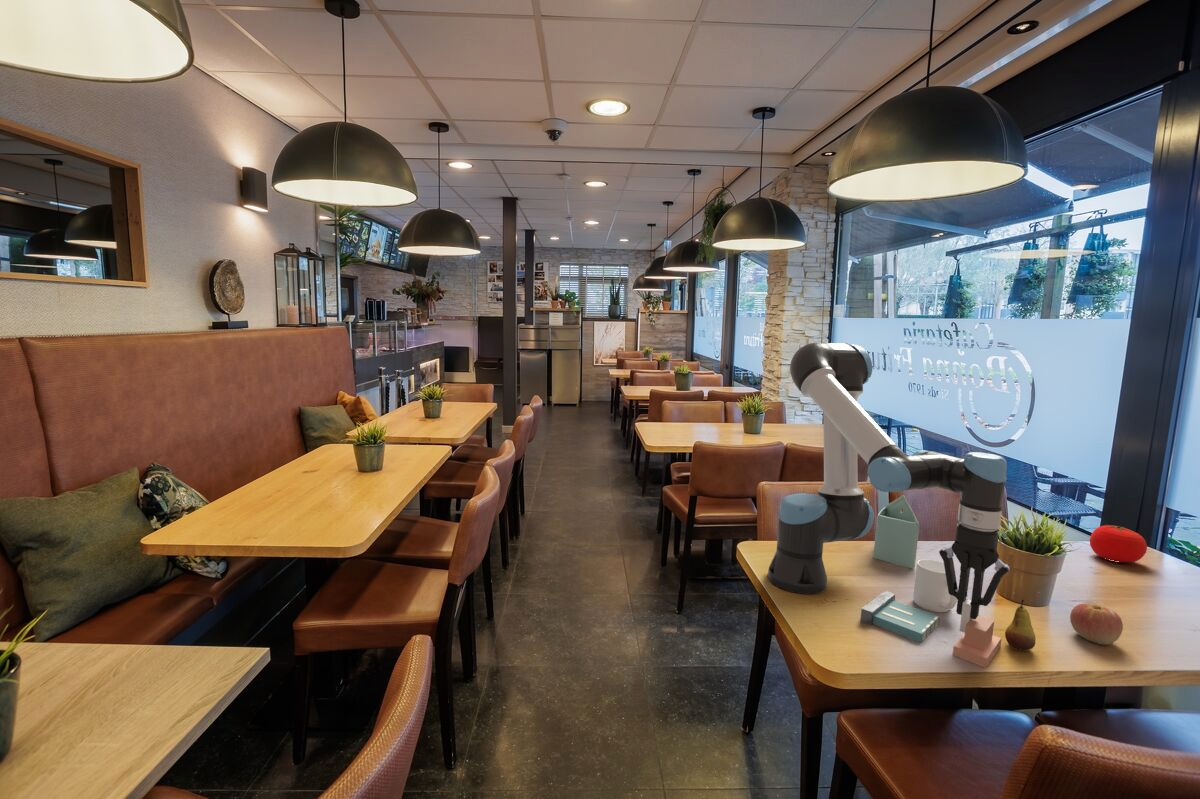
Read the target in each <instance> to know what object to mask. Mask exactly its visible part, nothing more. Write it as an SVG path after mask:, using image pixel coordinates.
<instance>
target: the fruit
mask: <svg viewBox="0 0 1200 799" xmlns="http://www.w3.org/2000/svg"><path fill="white" fill-rule="evenodd" d="M1020 602H1021V604H1020V605H1019V606H1017V608H1016V610H1015V613H1014V616H1013V619H1012V621H1011V623H1010V624H1009V625H1008V626H1007V627H1006V629H1005V631H1004V637H1005V639H1006V642H1007V643H1008V645H1009V646H1010V647H1011V648H1013V650H1017V651H1018V650H1019V651H1030V650H1032V649H1033V648H1034V647H1035V645H1036V633H1035V631H1034V627H1033V624H1032V621H1031V616H1030V613H1029V612H1028V609H1027V608H1026V607H1025V606H1023V604H1024V602H1025V600H1024V599H1021V601H1020Z"/></svg>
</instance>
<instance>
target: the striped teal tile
mask: <svg viewBox="0 0 1200 799" xmlns="http://www.w3.org/2000/svg"><path fill="white" fill-rule="evenodd" d="M939 623H940V616H939V615H937V614H933V613H931V612H928V611H926V610H923V609H920V608H917V607H913V606H910V605H908V604H905V603H902V602H900V601H897V600H895V601H894V600H893V601H891V602H890V603H889V604H888V605H886V606H885V607H884V608H883V609H881V610H880V611H879V612H878V613H876V614H875V615H874V616H873V624H872V625H875V626H878V627H880V628H883V629H885V630H888V631H891V632H893V633H895V634H898V635H900V636H904V637H906V638H909V639H912V640H914V641H916V642H919V643H922V642H923V641H924V640H925V639H926V638H928V636H929V635H930V634H931V633H932V632H933V631H934V630H935V629H936V628H937V627H938V626H939Z"/></svg>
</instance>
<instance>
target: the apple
mask: <svg viewBox="0 0 1200 799" xmlns="http://www.w3.org/2000/svg"><path fill="white" fill-rule="evenodd" d="M1069 617H1070V618H1069V620H1070V624H1071V626H1072V628H1073V630H1074V631H1075V632H1076V633H1077V634H1078V635H1079V636H1080V637H1082V638H1083V639H1085V640H1087V641H1089V642H1093V643H1095V644H1098V645H1106V646H1107V645H1110V644H1112V643H1115V642H1116V641H1117V640H1119V638H1120V637H1121V635H1122V633H1123V630H1124V624H1123V619H1122V617H1121V616H1120V615H1119V614H1118V613H1117V612H1116V611H1114V610H1113V609H1111V608H1109V607H1106V606H1103V605H1101V604H1097V603H1096V604H1095V603H1079V604H1077V605H1075V606H1073V608H1072V609H1071V612H1070V616H1069Z"/></svg>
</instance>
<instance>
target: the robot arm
mask: <svg viewBox="0 0 1200 799" xmlns="http://www.w3.org/2000/svg"><path fill="white" fill-rule="evenodd" d="M789 365H790V366H789V369H790V370H789V371H790V375H791V378H792V381H793V383H794V385H795V386H796V388H797V389H798V390H799V392H801V394H802V395H803V396H804V397H807V398H811V399H812V401H813V402H814V403H815V404H816V405H817V407H818V408H819V409H820V410H821V411H822V413H823V418H822V419H823V422H822V423H823V485H822V486H820V487H819V488H818V490H817V493H818V494H815V493H807V492H806V493H803V492H801V493H800V492H799V493H793V494H789V495H787V496H785V497H784V498H783V499H781V501H780V505H779V511H778V523H777V524H778V527H777V539H776V550H775V552H774V554H773V558H772V560H771V562H770V564H769V566H768V570H767V579H768V581H769V582H770V583H771V584H773V585H774V586H776V587H777V588H779V589H781V590H784V591H787V592H791V593H795V594H801V595H802V594H804V595H813V594H820V593H822V592H825V591H826V589H827V587H828V576H827V572H826V568H825V564H824V560H823V552H824V551H823V550H824V544H826V543H833V542H834V543H835V542H841V541H852V540H856V539H859V538H863V537H864V536H866V535H867V534H868V533H869V532H870V530H871V529H872V527H873V524H874V521H875V514H874V510H873V507H872V506H871V505H870V501H869V500H868V499H867V498H866V497H865V491H864V490H862V489H861V487H859V484H858V480H859V478H858V476H859V475H858V472H859V471H858V470H859V469H858V455H859V456H860V457H861V458H862V459H863V461H864V462H865V463H866V464H867V465H868V467H867V477H868V478H869V482H870V484H871V485H872V487H874V488H875V489H876V490H878V491H880V492H884V493H900V492H905V491H914V490H924V489H925V490H927V489H933V488H934V489H936V488H937V489H938V488H941V489H944V490H948V491H951V492H954V493H957V494H959V505H958V513H957V521H958V523H957V524H956V529H955V538H954V542H953V543H952V545H951V546H950V547H943V548H942V549H940V550H939V552H938V553H939V555H940V557H941V559H942V561H943V563H944V567H945V574H946V580H947V586H948V593H949V594H950V595H953V596H955V597H956V598H957V602H956V614H957V615H960V625H959V632H961V633H963V634H964V633H965V628H966V624H967V623H968V622H969V621H970V619H971V618H972V619H976V618H977V617H978V615H979V613H980V606H983V607H987V606H988V605H989V604H990V603H991V602H992V599H993V598H994V595H995V593H996V591H997V589H998V587H999V584H1000V583H1001V581H1002V579H1003V576H1004V575H1006V574H1007V573H1008V572H1009V571H1010V569H1011V565H1010V564H1008V563H1004V562H1003V561H1002V560H1001V559H1000V556H999V555H1000V554H999V553H998V543H999V534H1000V532H999V531H998V530H999V529H1000V528H1001V520H1002V514H1003V510H1002V509H1003V499H1004V493H1005V488H1006V487H1005V486H1006V482H1007V480H1008V477H1007V471H1008V470H1007V468H1008V467H1007V465H1008V464H1007V462H1008V461H1007V460H1006V459H1005V458H1004V457H1003V456H1001V455H998V454H993V453H986V452H979V451H976V452H975V451H974V452H973V451H972V452H971V451H970V452H966V454H965V456H964V458H961V457H957V456H952V455H948V454H943V453H941V452H938V451H934V450H933V451H931V450H925V449H921V450H917V451H915V453H913V454H912V455H907V454H906V453H905V452H904V451H903V450H902V448H900V447H899V446H898V445H897V444H896V443H895V442H894V440H893V439H892V438H891V437H890V436H889V435H888V434H887V433H886V432H885V431H884V429H882V427H881V426H880V425H879V424H878V423H877V422H876V421H875V420H874V419H873V418H872V416H871V415H869V413H868V412H867V411H866V410H865V409H864V408H863V406H861V405H860V404H859V402H858V398H859V397H860V396H861V395H862V393H864V385H865V384H866V383H867V382H868V381H869V378H871V377H872V374H873V361H872V358H871V355H870V354H869V352H867V350H865V349H864V348H863V347H862V346H860V345H857V344H854V343H853V344H852V343H847V342H846V343H845V342H843V343H841V342H840V343H838V342H837V343H833V342H832V343H831V342H810V343H806V344H805V345H803V346H801V347H800V348H798V350H796V352H795V353H794V354H793V356H792V358H791V361H790V364H789ZM954 555H955V557H956V559H957V560H958V562H959V563H960V569H959V570H960V573H959V580H958V581H959V582H958V583H959V584H958V583H957V576H956V569H955V563H954V562H955V561H954V558H953V557H954ZM994 564H995V566H994V570H995V573H994V574H993V576H992V578H991V580H990V583H989V584H988V586H987V589H986V591H985V594H984V595H983V597H982V593H983V584H984V576H985V572H986V570H987V569H988V568H990V566H992V565H994ZM971 569H973V570H974V571H973V584H972V592H971V599H968V598H967V597H968V596H969V595H968V590H969V581H970V574H971Z"/></svg>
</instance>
